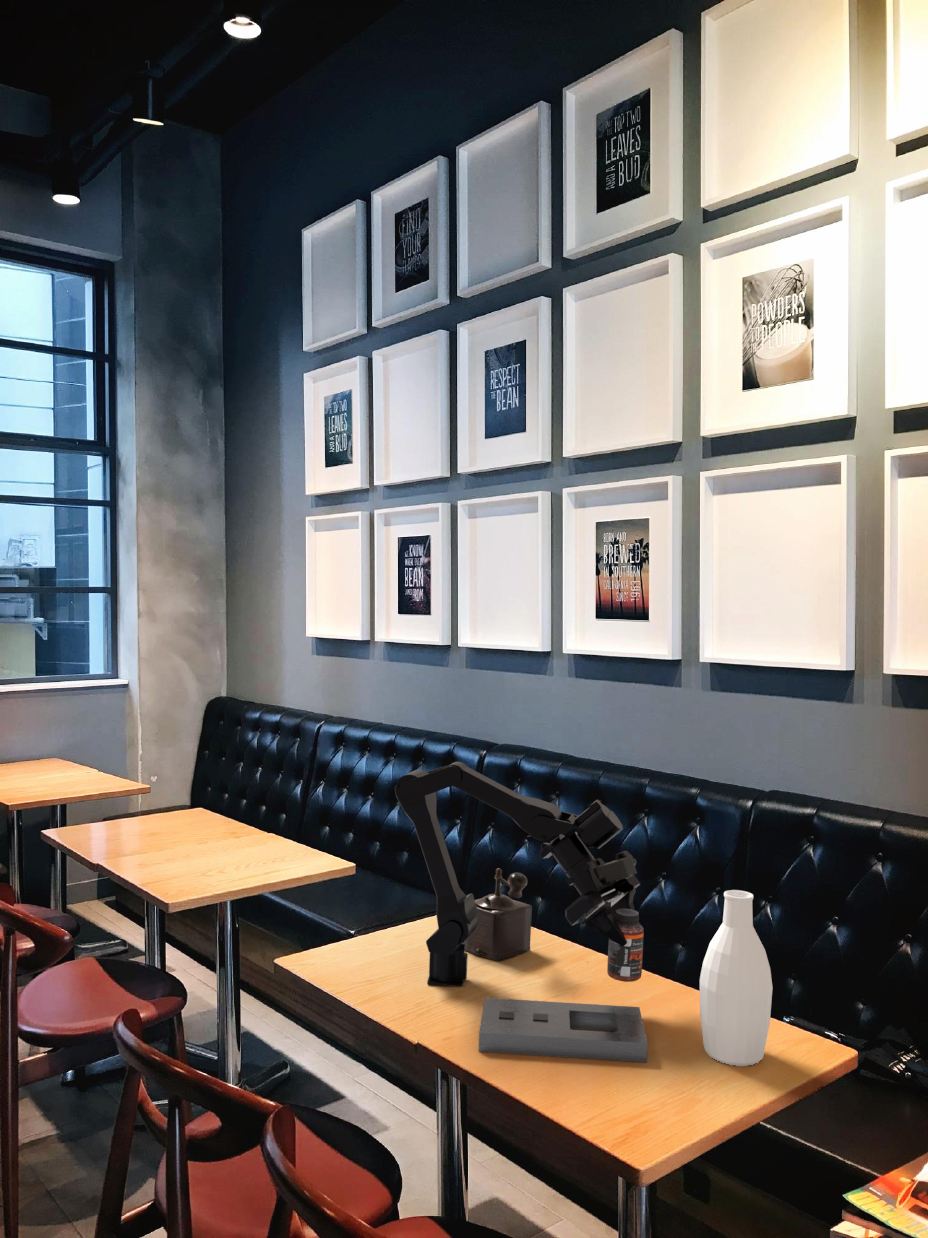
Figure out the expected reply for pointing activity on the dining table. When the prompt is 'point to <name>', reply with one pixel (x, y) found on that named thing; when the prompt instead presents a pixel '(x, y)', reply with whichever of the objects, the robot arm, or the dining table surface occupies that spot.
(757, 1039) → the bottle
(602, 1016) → the grey fixture plate
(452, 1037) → the dining table surface
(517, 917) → the brown coffee grinder
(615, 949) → the supplement bottle
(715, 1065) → the dining table surface
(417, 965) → the dining table surface
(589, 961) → the dining table surface
